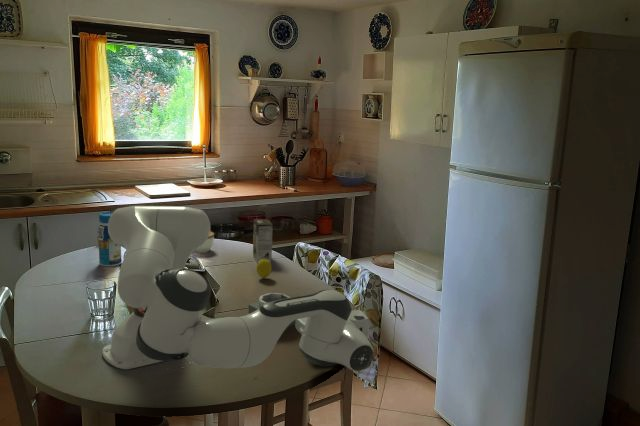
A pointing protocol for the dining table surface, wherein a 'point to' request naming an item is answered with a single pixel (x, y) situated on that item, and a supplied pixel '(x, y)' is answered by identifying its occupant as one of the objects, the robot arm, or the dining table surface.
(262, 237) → the coffee box
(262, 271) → the lemon
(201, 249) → the lidded jar
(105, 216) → the blue cylindrical canister
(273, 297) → the grey cube with hole
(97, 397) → the dining table surface
